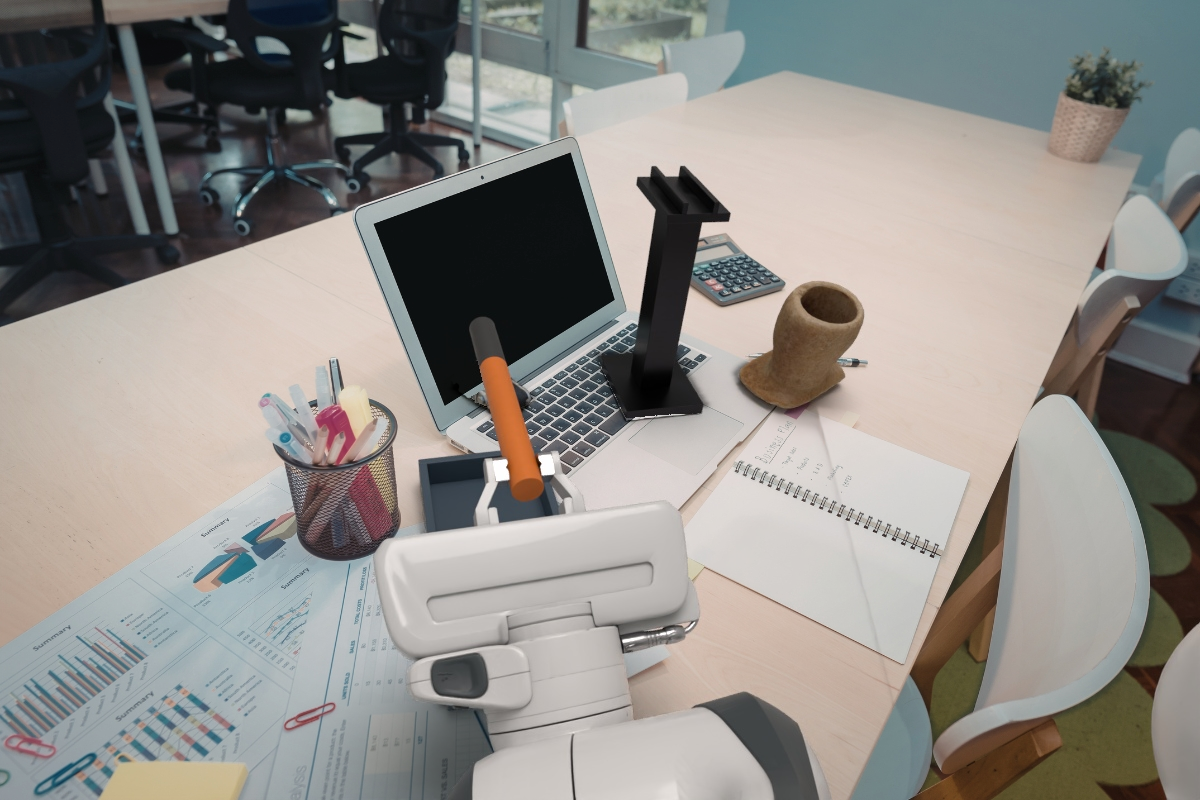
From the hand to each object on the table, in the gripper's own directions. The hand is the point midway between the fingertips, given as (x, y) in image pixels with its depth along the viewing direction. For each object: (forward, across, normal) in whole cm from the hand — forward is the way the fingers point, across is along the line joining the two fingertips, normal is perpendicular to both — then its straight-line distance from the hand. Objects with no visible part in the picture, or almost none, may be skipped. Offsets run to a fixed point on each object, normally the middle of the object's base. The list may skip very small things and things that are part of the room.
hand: (519, 456), depth 50 cm
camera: (+19, -4, +35) cm, 40 cm away
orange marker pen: (+6, 0, +5) cm, 8 cm away
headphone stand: (+18, -24, +34) cm, 45 cm away
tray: (-4, 0, +22) cm, 22 cm away
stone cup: (+15, -44, +33) cm, 57 cm away
